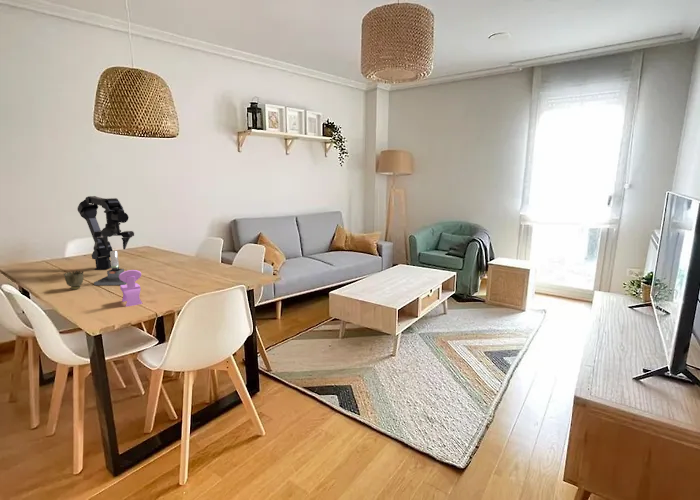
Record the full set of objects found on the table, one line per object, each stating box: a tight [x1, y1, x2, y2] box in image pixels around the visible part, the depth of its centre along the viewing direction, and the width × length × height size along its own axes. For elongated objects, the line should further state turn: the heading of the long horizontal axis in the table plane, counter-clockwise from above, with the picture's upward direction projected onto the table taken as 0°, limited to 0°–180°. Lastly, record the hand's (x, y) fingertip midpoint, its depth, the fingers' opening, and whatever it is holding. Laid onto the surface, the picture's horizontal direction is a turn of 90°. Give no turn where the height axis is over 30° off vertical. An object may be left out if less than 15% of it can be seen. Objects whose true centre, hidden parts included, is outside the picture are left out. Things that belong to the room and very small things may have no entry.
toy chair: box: [119, 269, 143, 308], centre depth 158 cm, size 8×9×15 cm
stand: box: [93, 268, 127, 286], centre depth 189 cm, size 14×14×6 cm
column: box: [110, 250, 120, 271], centre depth 187 cm, size 4×4×12 cm
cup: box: [63, 270, 84, 291], centre depth 175 cm, size 8×7×8 cm
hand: (115, 249), depth 205 cm, fingers open, 9 cm apart
